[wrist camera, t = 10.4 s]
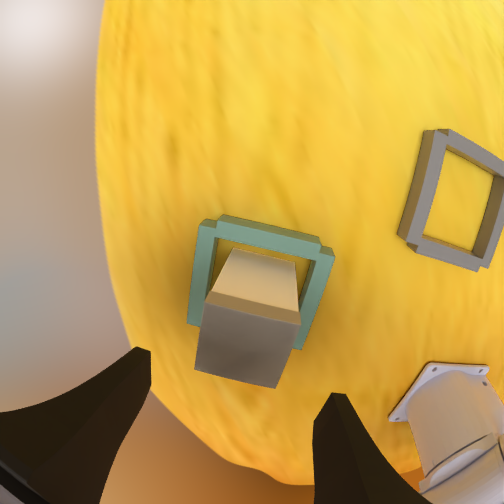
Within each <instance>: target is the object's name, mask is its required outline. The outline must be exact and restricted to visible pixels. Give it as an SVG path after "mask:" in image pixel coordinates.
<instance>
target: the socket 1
mask: <svg viewBox="0 0 504 504" xmlns="http://www.w3.org/2000/svg"><path fill="white" fill-rule="evenodd" d="M219 238H221V239H226V240H230V241H234V242H239V243H243V244H247V245H251V246H256V247H260V248H264V249H269V250H273V251H277V252H281V253H286V254H290V255H294V256H298V257H302V258H307V259H311V260H312V261H311V264H310V267H309V270H308V274H307V277H306V280H305V283H304V286H303V289H302V292H301V295H300V298H299V302H298V309H299V312H300V317H301V327H300V329H299V332H298V334H297V337H296V340H295V342H294V345H293V347H292V348H293V349H299V350H301V349H302V347H303V345H304V342H305V340H306V337H307V334H308V332H309V329H310V327H311V324H312V322H313V319H314V316H315V314H316V311H317V308H318V306H319V303H320V300H321V297H322V295H323V292H324V289H325V286H326V283H327V280H328V277H329V275H330V272H331V269H332V266H333V263H334V260H335V255H334V253H333V251H332V248H329V247H324V246H321V242H320V239H319V237H317V236H313V235H309V234H304V233H300V232H296V231H292V230H288V229H284V228H280V227H275V226H271V225H267V224H263V223H258V222H254V221H250V220H245V219H241V218H236V217H232V216H228V215H222V216H221V217H220V218H219V219H218V221H214V220H209V219H205V220H204V221H203V222H202V223H201V224H200V225H199V231H198V237H197V244H196V251H195V258H194V265H193V273H192V281H191V289H190V297H189V305H188V314H187V324H191V325H195V326H198V327H200V326H201V319H202V313H203V307H204V301H205V299H206V297H207V295H208V293H209V291H210V286H211V280H212V274H213V268H214V262H215V256H216V250H217V244H218V239H219Z"/></svg>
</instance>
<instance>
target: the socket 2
mask: <svg viewBox="0 0 504 504" xmlns="http://www.w3.org/2000/svg"><path fill="white" fill-rule="evenodd" d="M446 149H447V150H449V151H451V152H453V153H455V154H457V155H459V156H461V157H463V158H465V159H466V160H468V161H470V162H472V163H474V164H475V165H477V166H479V167H481V168H482V169H484V170H486V171H487V172H489V173H491V174H492V175H494V180H493V185H492V189H491V193H490V197H489V201H488V204H487V208H486V211H485V215H484V218H483V221H482V225H481V228H480V231H479V234H478V237H477V240H476V243H475V245H474V248H473V251H472V252H471V251H468V250H465V249H463V248H460V247H457V246H454V245H452V244H449V243H446V242H443V241H440V240H438V239H435V238H432V237H429V236H426V235H423V231H424V228H425V225H426V222H427V219H428V215H429V212H430V209H431V205H432V202H433V199H434V195H435V191H436V188H437V184H438V180H439V176H440V172H441V168H442V164H443V159H444V154H445V150H446ZM503 225H504V161H502V160H501V159H499V158H498V157H496V156H495V155H493V154H492V153H490V152H489V151H487V150H485V149H484V148H482V147H481V146H479V145H477V144H476V143H474V142H472V141H471V140H469V139H467V138H465V137H464V136H462V135H460V134H458V133H456V132H454V131H453V130H451V129H438V131H436V130H427V131H424V134H423V139H422V144H421V149H420V153H419V157H418V162H417V166H416V170H415V174H414V178H413V182H412V185H411V189H410V193H409V196H408V200H407V203H406V207H405V210H404V213H403V216H402V220H401V223H400V226H399V229H398V232H397V235H398V236H400V237H401V238H402V239H403V240H404V241H406V242H408V243H407V246H408V247H410V248H411V249H412V250H413V251H414V252H415V253H418V254H421V255H424V256H428V257H431V258H434V259H437V260H441V261H444V262H447V263H450V264H453V265H456V266H460V267H463V268H466V269H469V270H472V271H475V272H478V270H479V267H480V266H482V267H485V268H487V269H488V268H489V265H490V263H491V260H492V257H493V255H494V252H495V249H496V247H497V244H498V241H499V238H500V235H501V232H502V229H503Z"/></svg>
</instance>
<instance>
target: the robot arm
mask: <svg viewBox="0 0 504 504" xmlns="http://www.w3.org/2000/svg"><path fill="white" fill-rule="evenodd" d="M488 371H489V366H488V365H463V364H445V363H429V364H427V365H426V366H425V368H424V369H423V371H422V372H421V374H420V375H419V377H418V378H417V380H416V381H415V383H414V384H413V385H412V387H411V388H410V390H409V391H408V392H407V394H406V395H405V396H404V398H403V399H402V400H401V402H400V403H399V404H398V406H397V407H396V408H395V409H394V411H393V412H392V413H391V414H390V416H389V417H388V419H389V421H391V422H402V421H408V422H409V425H410V428H411V431H412V434H413V437H414V441H415V444H416V447H417V451H418V454H419V458H420V461H421V465H422V468H423V472H424V476H425V479H423V480H422V481H420V482H419V487H420V491H419V492H417V491H416V490H414V489H413V488H412V487H411V486H410V485H409V484H408V483H407V482H406V481H405V480H404V479H403V478H402V477H401V476H400V475H399V474H398V473H397V472H396V471H395V469H394V468H393V467H392V466H391V465H390V464H389V462H388V461H387V460H386V459H385V457H384V456H383V455H382V453H381V452H380V450H379V449H378V447H377V446H376V445H375V443H374V442H373V440H372V438H371V437H370V435H369V434H368V432H367V430H366V429H365V427H364V425H363V424H362V422H361V420H360V418H359V417H358V415H357V413H356V411H355V410H354V408H353V406H352V404H351V403H350V401H349V399H348V397H347V396H346V394H341V393H331V395H330V396H329V398H328V399H327V401H326V403H325V404H324V406H323V408H322V409H321V411H320V412H319V414H318V416H317V417H316V419H315V420H314V425H313V440H312V446H313V464H314V482H315V497H314V504H504V405H503V403H502V402H501V400H500V398H499V396H498V395H497V393H496V391H495V390H494V388H493V387H492V385H491V383H490V382H489V380H488V379H487V377H486V376H485V375H486V374H487V372H488ZM150 387H151V351H148V350H145V349H142V348H140V347H135V348H133V349H132V350H131V351H129V352H128V353H127V354H125V355H124V356H123V357H121V358H120V359H119V360H117V361H116V362H115V363H113V364H112V365H110V366H109V367H108V368H106V369H105V370H103V371H102V372H100V373H99V374H97V375H96V376H94V377H93V378H91V379H89V380H88V381H86V382H84V383H83V384H81V385H79V386H78V387H76V388H74V389H72V390H70V391H68V392H66V393H64V394H62V395H60V396H57V397H55V398H53V399H50V400H47V401H45V402H42V403H39V404H37V405H33V406H30V407H25V408H22V409H18V410H14V411H8V412H0V504H99V502H100V499H101V496H102V493H103V489H104V486H105V483H106V480H107V478H108V475H109V472H110V469H111V466H112V464H113V461H114V459H115V456H116V454H117V451H118V449H119V447H120V445H121V443H122V441H123V440H124V438H125V436H126V434H127V433H128V431H129V429H130V427H131V426H132V424H133V422H134V420H135V419H136V417H137V415H138V413H139V411H140V410H141V408H142V406H143V404H144V401H145V399H146V397H147V394H148V392H149V389H150Z"/></svg>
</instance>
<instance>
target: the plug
mask: <svg viewBox="0 0 504 504" xmlns="http://www.w3.org/2000/svg"><path fill="white" fill-rule="evenodd" d="M300 327H301V317H300V312H299V309H298V295H297V281H296V269H295V262H292V261H288V260H284V259H280V258H276V257H271V256H267V255H263V254H259V253H255V252H251V251H247V250H243V249H239V248H235V247H233V249H232V251H231V253H230V255H229V257H228V259H227V261H226V263H225V265H224V266H223V268H222V270H221V272H220V274H219V276H218V278H217V280H216V282H215V284H214V286H213V288H212V290H211V291H209V293H208V295H207V297H206V299H205V301H204V307H203V313H202V319H201V326H200V333H199V339H198V346H197V353H196V361H195V368H194V370H198V371H202V372H205V373H209V374H213V375H216V376H220V377H224V378H228V379H232V380H236V381H241V382H245V383H250V384H254V385H259V386H264V387H269V388H274V389H275V388H276V386H277V384H278V381H279V379H280V377H281V374H282V372H283V369H284V367H285V365H286V362H287V360H288V357H289V355H290V352H291V350H292V347H293V345H294V342H295V340H296V337H297V334H298V332H299V329H300Z"/></svg>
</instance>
